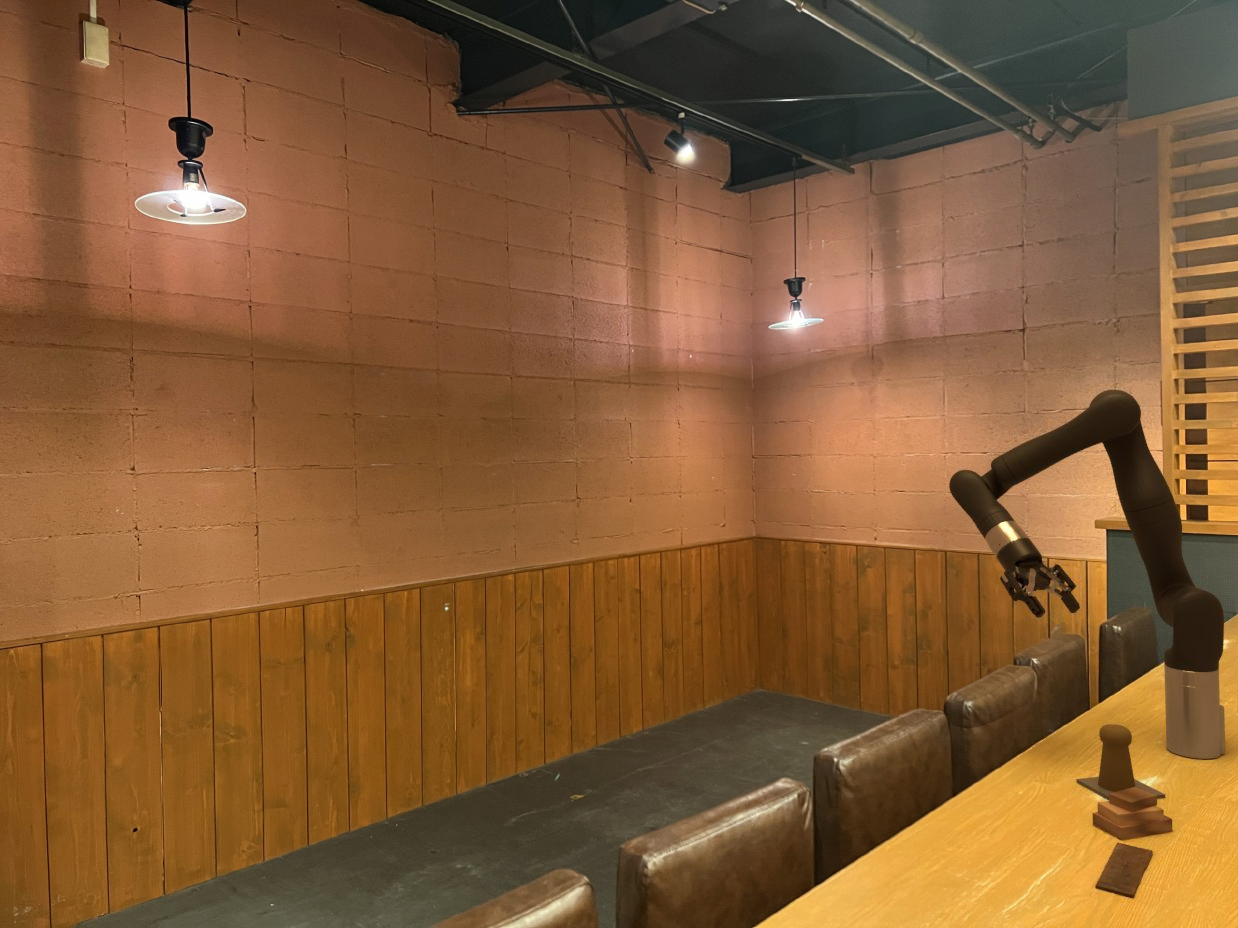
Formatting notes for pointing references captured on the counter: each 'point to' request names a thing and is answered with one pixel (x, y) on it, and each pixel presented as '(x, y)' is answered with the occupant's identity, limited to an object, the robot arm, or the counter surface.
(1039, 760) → the counter surface
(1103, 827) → the offcut stack
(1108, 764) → the cork
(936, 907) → the counter surface
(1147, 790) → the slate coaster
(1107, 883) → the wooden plank
